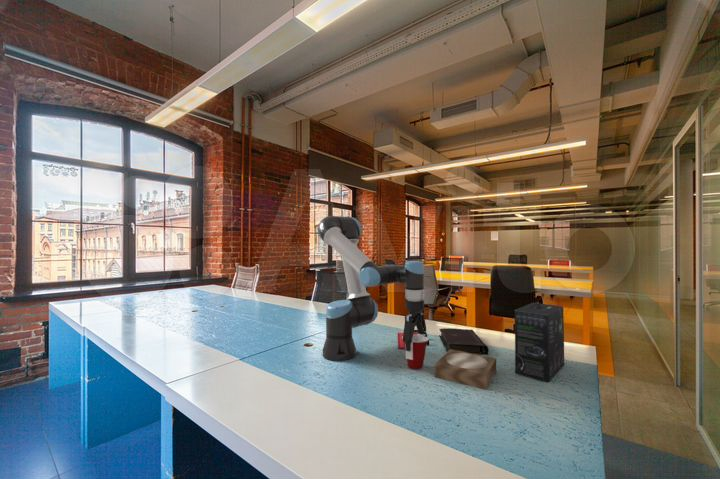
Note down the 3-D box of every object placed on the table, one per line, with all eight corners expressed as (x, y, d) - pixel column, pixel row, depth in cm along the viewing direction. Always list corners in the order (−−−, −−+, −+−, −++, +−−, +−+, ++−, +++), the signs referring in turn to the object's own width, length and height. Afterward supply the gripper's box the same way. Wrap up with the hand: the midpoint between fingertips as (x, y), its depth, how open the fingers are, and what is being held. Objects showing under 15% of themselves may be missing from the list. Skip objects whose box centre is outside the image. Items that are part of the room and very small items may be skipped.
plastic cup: (431, 363, 127) (431, 334, 127) (425, 374, 117) (425, 342, 117) (406, 359, 132) (405, 331, 132) (398, 369, 122) (398, 339, 122)
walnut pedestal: (435, 377, 115) (434, 363, 115) (450, 361, 130) (450, 348, 130) (486, 389, 105) (486, 374, 105) (496, 370, 119) (496, 357, 119)
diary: (473, 338, 161) (474, 329, 161) (488, 356, 136) (488, 345, 136) (437, 337, 163) (437, 327, 163) (445, 354, 138) (445, 343, 138)
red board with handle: (424, 331, 173) (397, 331, 174) (424, 326, 173) (397, 326, 174) (430, 351, 143) (398, 351, 144) (430, 345, 143) (398, 345, 144)
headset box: (532, 357, 133) (532, 297, 133) (565, 365, 124) (564, 300, 124) (513, 373, 117) (512, 305, 117) (549, 383, 109) (548, 310, 109)
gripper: (411, 305, 113) (411, 366, 113) (434, 295, 132) (434, 347, 132) (393, 303, 117) (393, 361, 117) (417, 294, 136) (418, 344, 136)
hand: (415, 354), depth 124 cm, fingers closed on plastic cup, 11 cm apart
